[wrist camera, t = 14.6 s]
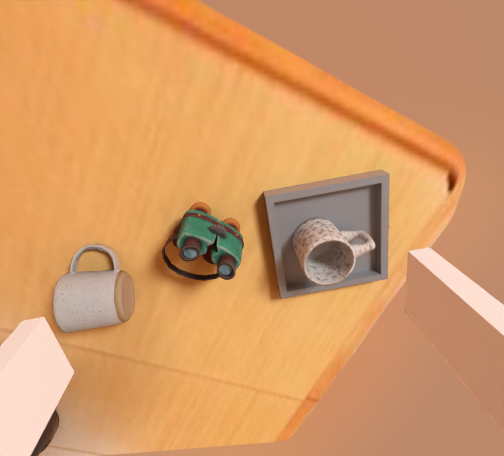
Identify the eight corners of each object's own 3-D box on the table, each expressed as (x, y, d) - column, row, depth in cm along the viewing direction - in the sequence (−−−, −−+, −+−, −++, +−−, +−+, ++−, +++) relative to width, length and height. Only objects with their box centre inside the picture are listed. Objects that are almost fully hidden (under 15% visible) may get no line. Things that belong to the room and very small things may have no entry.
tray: (278, 289, 48) (281, 298, 46) (263, 191, 42) (265, 196, 40) (380, 270, 49) (387, 278, 47) (381, 169, 42) (389, 173, 40)
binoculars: (141, 295, 36) (180, 228, 32) (162, 245, 45) (194, 189, 41) (211, 324, 38) (255, 266, 34) (217, 271, 47) (253, 220, 43)
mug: (296, 264, 46) (306, 290, 40) (288, 223, 43) (298, 245, 37) (362, 248, 46) (383, 272, 40) (359, 206, 43) (381, 226, 37)
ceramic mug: (141, 301, 47) (126, 337, 40) (85, 307, 47) (61, 345, 40) (125, 237, 43) (105, 265, 36) (64, 243, 43) (32, 273, 36)
